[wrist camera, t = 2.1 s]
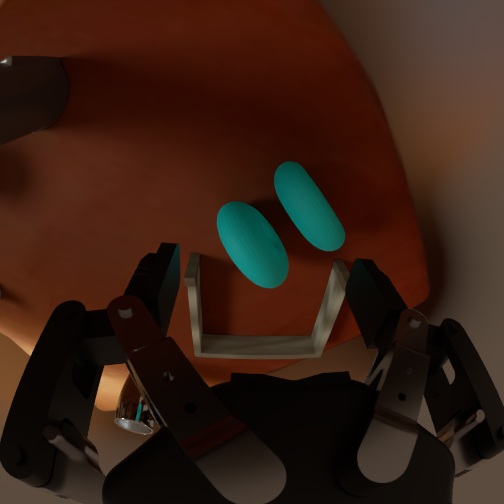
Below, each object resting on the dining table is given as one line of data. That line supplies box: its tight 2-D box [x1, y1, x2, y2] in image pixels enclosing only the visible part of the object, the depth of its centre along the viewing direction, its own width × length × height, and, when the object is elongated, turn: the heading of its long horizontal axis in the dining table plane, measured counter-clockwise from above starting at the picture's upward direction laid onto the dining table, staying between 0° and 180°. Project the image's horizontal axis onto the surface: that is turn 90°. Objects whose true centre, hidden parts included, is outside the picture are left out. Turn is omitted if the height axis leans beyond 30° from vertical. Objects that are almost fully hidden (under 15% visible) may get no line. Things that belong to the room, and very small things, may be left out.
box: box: [184, 253, 350, 359], centre depth 37 cm, size 16×20×5 cm
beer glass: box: [115, 373, 155, 434], centre depth 40 cm, size 7×7×15 cm
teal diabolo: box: [217, 161, 345, 288], centre depth 27 cm, size 10×10×10 cm
